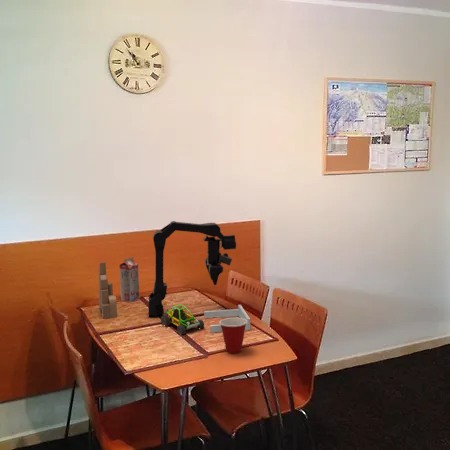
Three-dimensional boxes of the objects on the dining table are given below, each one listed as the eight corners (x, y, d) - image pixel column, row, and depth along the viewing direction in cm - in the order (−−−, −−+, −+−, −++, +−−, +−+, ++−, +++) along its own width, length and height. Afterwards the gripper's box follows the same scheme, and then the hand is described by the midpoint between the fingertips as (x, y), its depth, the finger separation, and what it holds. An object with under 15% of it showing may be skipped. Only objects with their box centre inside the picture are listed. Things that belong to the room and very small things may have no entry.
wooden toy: (118, 317, 223) (115, 264, 219) (103, 319, 220) (100, 266, 216) (112, 307, 237) (110, 257, 233) (99, 308, 234) (96, 258, 231)
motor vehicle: (182, 336, 200) (182, 312, 198) (158, 323, 214) (157, 301, 213) (204, 329, 207) (204, 306, 205) (179, 318, 222) (178, 296, 220)
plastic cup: (239, 342, 192) (239, 314, 190) (252, 352, 183) (252, 322, 181) (214, 347, 187) (214, 318, 185) (227, 358, 178) (227, 327, 176)
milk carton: (139, 298, 250) (137, 257, 246) (130, 302, 244) (128, 260, 241) (129, 296, 253) (128, 256, 250) (120, 300, 248) (119, 258, 244)
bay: (210, 332, 203) (210, 321, 202) (204, 317, 221) (204, 307, 221) (250, 330, 206) (250, 318, 205) (240, 315, 224) (240, 304, 224)
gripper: (234, 253, 217) (234, 286, 219) (227, 245, 235) (227, 276, 238) (209, 254, 215) (209, 288, 218) (204, 246, 233) (204, 277, 236)
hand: (213, 282), depth 227 cm, fingers open, 9 cm apart
